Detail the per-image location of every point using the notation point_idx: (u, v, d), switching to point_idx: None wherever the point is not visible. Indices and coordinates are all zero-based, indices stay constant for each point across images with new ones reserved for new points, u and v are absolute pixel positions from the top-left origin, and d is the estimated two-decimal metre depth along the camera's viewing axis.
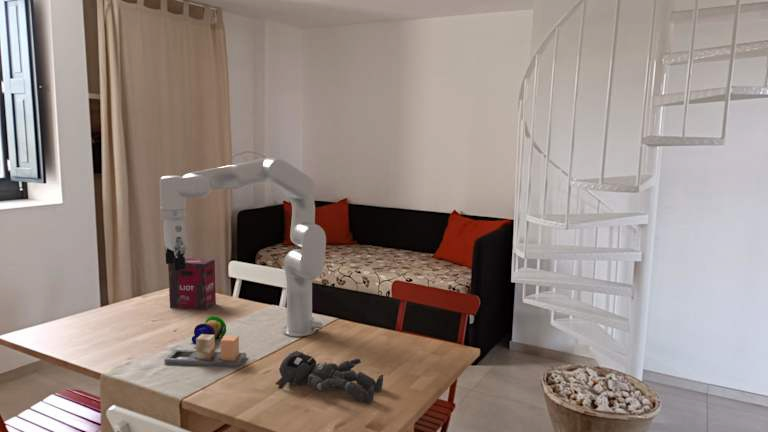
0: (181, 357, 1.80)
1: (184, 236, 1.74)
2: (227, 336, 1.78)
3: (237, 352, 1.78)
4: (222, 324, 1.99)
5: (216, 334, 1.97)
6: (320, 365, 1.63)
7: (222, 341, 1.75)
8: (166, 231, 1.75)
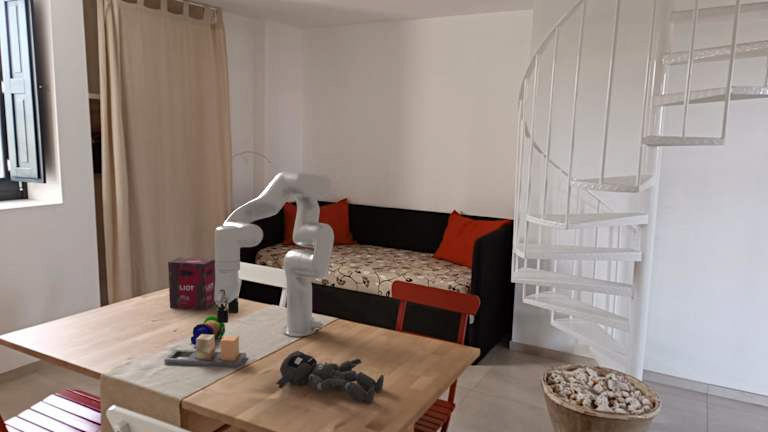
0: (181, 357, 1.80)
1: None
2: (227, 336, 1.78)
3: (237, 352, 1.78)
4: (221, 324, 1.99)
5: (215, 334, 1.97)
6: (320, 365, 1.63)
7: (222, 341, 1.75)
8: (236, 281, 1.74)
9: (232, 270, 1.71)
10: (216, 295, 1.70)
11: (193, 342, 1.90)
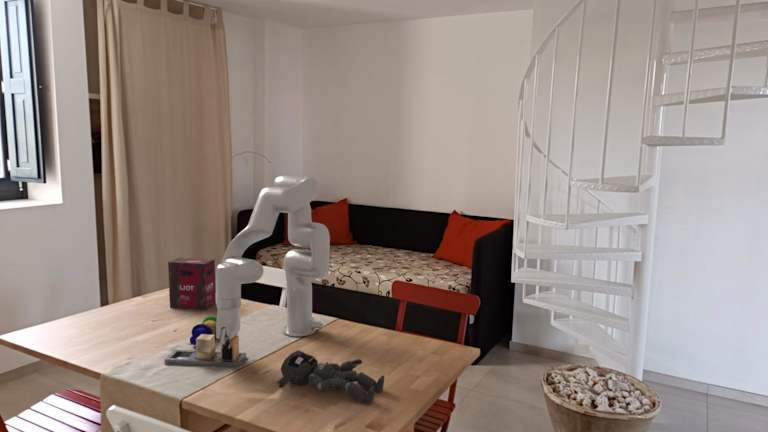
0: (181, 357, 1.80)
1: None
2: None
3: (237, 352, 1.78)
4: None
5: (214, 334, 1.97)
6: (321, 365, 1.63)
7: None
8: (237, 317, 1.76)
9: (233, 307, 1.72)
10: (218, 332, 1.72)
11: (192, 342, 1.90)
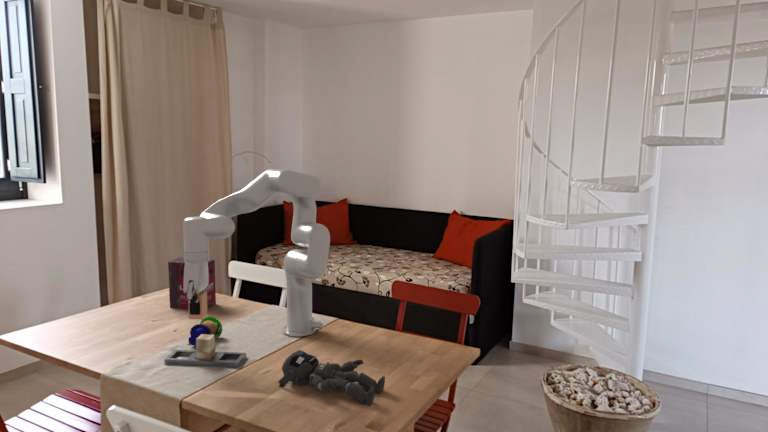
0: (181, 357, 1.80)
1: None
2: (195, 291, 1.76)
3: (205, 308, 1.76)
4: (218, 324, 1.99)
5: (212, 334, 1.97)
6: (322, 365, 1.63)
7: None
8: (205, 272, 1.75)
9: (201, 261, 1.71)
10: (185, 286, 1.70)
11: (191, 343, 1.89)
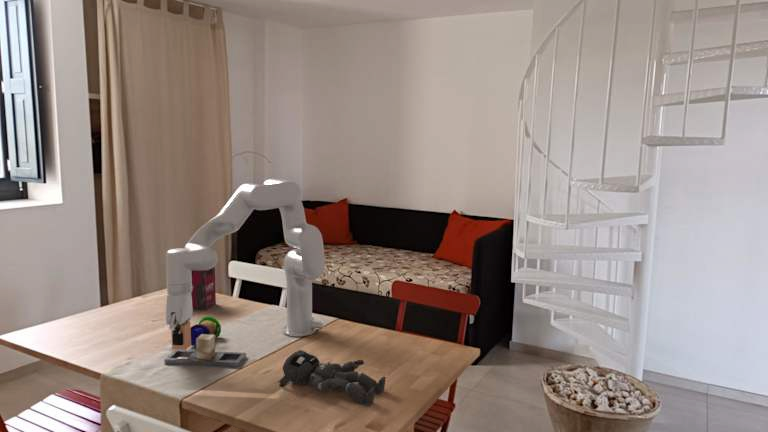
0: (181, 357, 1.80)
1: None
2: None
3: (188, 338, 1.79)
4: (217, 324, 1.99)
5: (211, 334, 1.97)
6: (322, 365, 1.63)
7: None
8: (188, 303, 1.77)
9: (183, 293, 1.73)
10: (167, 317, 1.72)
11: None
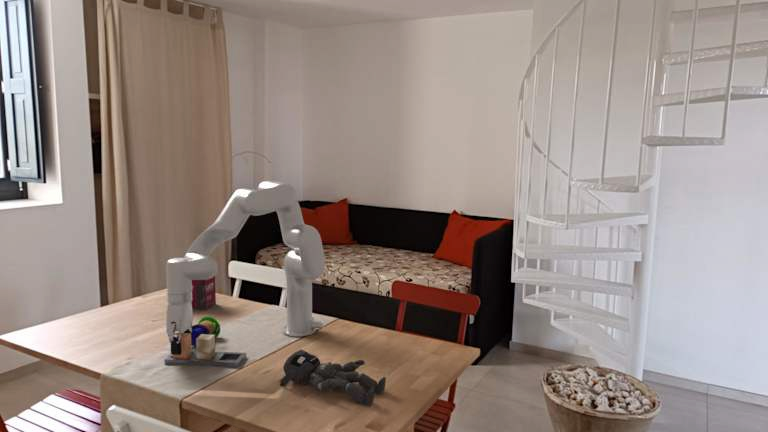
0: None
1: None
2: None
3: (189, 350, 1.79)
4: (216, 324, 1.99)
5: (210, 334, 1.96)
6: (323, 365, 1.63)
7: None
8: (188, 312, 1.77)
9: (183, 302, 1.73)
10: (168, 327, 1.72)
11: None
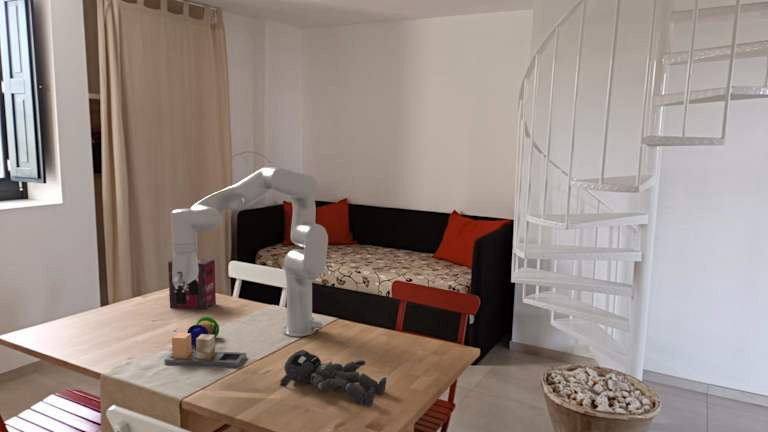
0: None
1: None
2: (179, 334, 1.79)
3: (189, 350, 1.79)
4: (215, 324, 1.98)
5: None
6: (323, 365, 1.63)
7: (173, 338, 1.76)
8: (194, 263, 1.77)
9: (189, 252, 1.73)
10: (174, 277, 1.72)
11: None
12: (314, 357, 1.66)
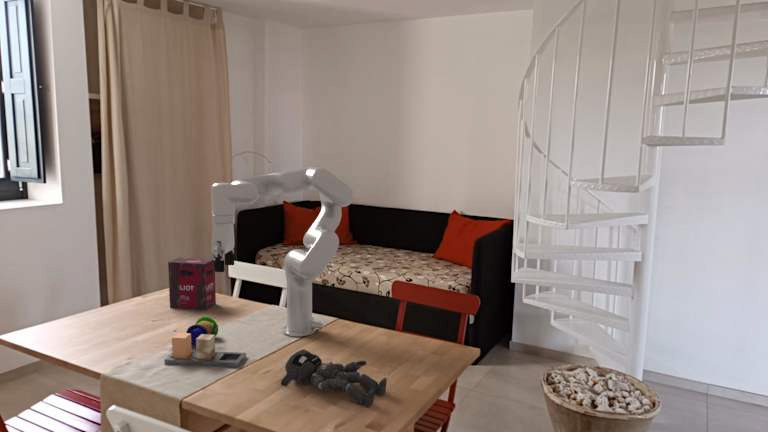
0: None
1: None
2: (179, 334, 1.79)
3: (189, 350, 1.79)
4: (214, 324, 1.98)
5: None
6: (324, 365, 1.63)
7: (173, 338, 1.76)
8: (231, 234, 1.88)
9: (228, 223, 1.84)
10: (213, 246, 1.83)
11: None
12: (315, 357, 1.66)
